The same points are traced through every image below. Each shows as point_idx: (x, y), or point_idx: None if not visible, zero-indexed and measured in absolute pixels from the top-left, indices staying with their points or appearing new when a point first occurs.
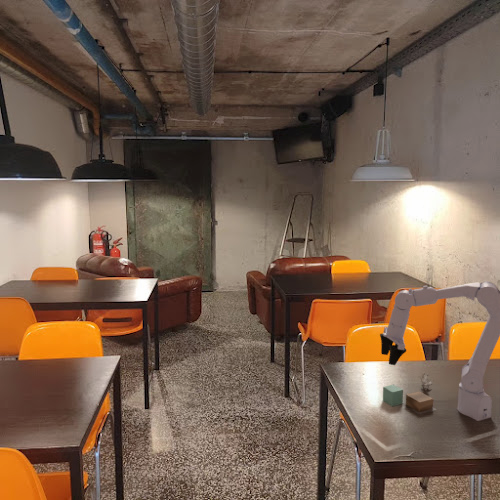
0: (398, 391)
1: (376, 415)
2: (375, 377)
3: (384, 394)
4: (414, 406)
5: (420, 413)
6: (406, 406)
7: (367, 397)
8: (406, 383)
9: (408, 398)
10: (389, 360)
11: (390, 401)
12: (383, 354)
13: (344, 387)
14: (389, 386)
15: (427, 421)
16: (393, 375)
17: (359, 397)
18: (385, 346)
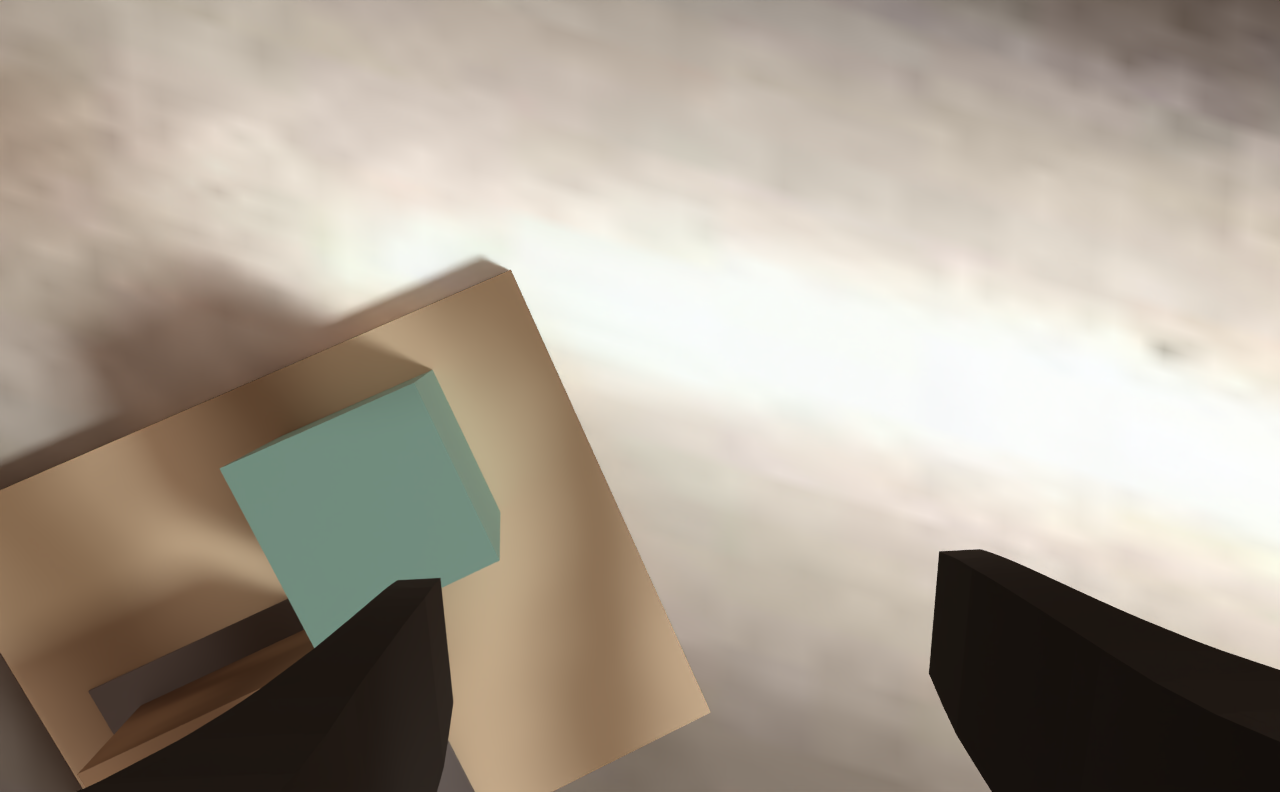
0: (274, 567)
1: (108, 198)
2: (1074, 469)
3: (397, 387)
4: (199, 689)
5: (109, 712)
6: (283, 604)
7: (570, 225)
8: (914, 771)
9: (279, 666)
10: (373, 612)
11: (296, 430)
12: (936, 587)
13: (831, 13)
14: (426, 480)
15: (4, 737)
16: None
17: (568, 125)
18: (1066, 732)
